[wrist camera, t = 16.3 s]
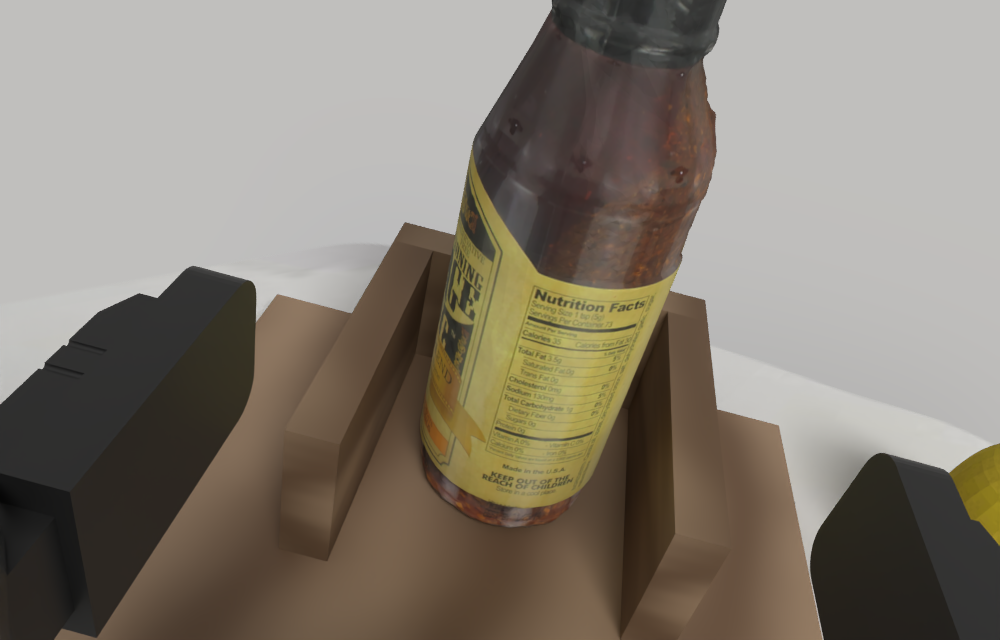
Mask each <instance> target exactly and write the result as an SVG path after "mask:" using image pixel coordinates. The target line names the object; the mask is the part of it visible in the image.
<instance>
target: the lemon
mask: <svg viewBox="0 0 1000 640" xmlns="http://www.w3.org/2000/svg"><path fill="white" fill-rule="evenodd" d="M949 475H950V476H951V477H952V479H953V481H954V483H955V485H956V488H957V490H958V492H959V494H960V497H961V499H962V501H963V503H964V506H965V508H966V510H967V512H968V515H969V517H970V519H972V520H975V521H979V522H980V523H981V524H982V525H983V527H984V528H985V529H986V530H987V531H988V533H989V534H990V535H991V536H992V537H993V538H994V540H995V541H996V542H997V543H998V544H999V546H1000V444H997V445H993V446H990V447H988V448H985V449H983V450H981V451H979V452H977V453H975V454H974V455H972V456H971V457H969V458H968V459H966V460H965V461H963V462H962V463H961V464H960V465H958V466H957V467H956V468H955V469H953V470H952V471H951V472H950V473H949Z"/></svg>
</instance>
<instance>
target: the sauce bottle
mask: <svg viewBox="0 0 1000 640" xmlns="http://www.w3.org/2000/svg"><path fill="white" fill-rule="evenodd" d="M725 3H726V0H552V10H551V11H550V13H549V15H548V17H547V19H546V20H545V22H544V24H543V26H542V28H541V29H540V31H539V33H538V35H537V36H536V38H535V40H534V42H533V44H532V45H531V47H530V48H529V50H528V52H527V53H526V55H525V57H524V58H523V60H522V61H521V63H520V65H519V66H518V68H517V70H516V71H515V73H514V74H513V76H512V78H511V79H510V81H509V82H508V84H507V86H506V87H505V89H504V90H503V92H502V94H501V95H500V97H499V98H498V100H497V102H496V103H495V105H494V107H493V108H492V110H491V111H490V113H489V115H488V116H487V118H486V119H485V121H484V123H483V124H482V126H481V127H480V129H479V131H478V132H477V134H476V136H475V138H474V141H473V145H472V150H471V155H470V160H469V166H468V171H467V176H466V182H465V187H464V192H463V198H462V203H461V208H460V214H459V219H458V224H457V230H456V234H455V239H454V244H453V249H452V253H451V259H450V264H449V269H448V275H447V281H446V286H445V292H444V297H443V301H442V306H441V312H440V318H439V324H438V329H437V335H436V340H435V345H434V351H433V356H432V361H431V366H430V371H429V376H428V382H427V387H426V392H425V397H424V403H423V409H422V413H421V417H420V433H421V439H422V448H421V453H422V459H423V466H424V468H425V471H426V475H427V479H428V480H429V481H430V484H431V486H432V488H433V489H434V490H435V491H436V492H437V493H438V495H439V496H440V498H442V499H444V500H445V501H447V502H449V503H451V504H452V505H454V506H455V507H456V509H458V510H459V511H461V512H463V513H465V514H466V515H467V516H468V517H470V518H472V519H475V520H478V521H481V522H484V523H487V524H491V525H494V526H502V527H507V528H513V527H525V528H527V527H528V528H530V527H532V526H537V525H544V524H547V523H550V522H553V521H554V520H556V519H557V518H558V517H559V516H560V515H561V514H562V513H564V512H565V511H567V510H568V509H569V508H570V506H571V505H572V504H573V502H574V501H575V500H576V499H577V497H578V496H579V494H580V492H581V491H582V488H583V487H584V485H585V484H586V483H587V482H588V481H589V480H590V478H591V476H592V475H593V473H594V470H595V468H596V466H597V464H598V462H599V459H600V457H601V454H602V452H603V449H604V447H605V444H606V442H607V439H608V437H609V434H610V432H611V430H612V427H613V425H614V423H615V420H616V418H617V416H618V413H619V411H620V408H621V406H622V404H623V401H624V399H625V396H626V394H627V392H628V389H629V387H630V384H631V382H632V380H633V377H634V375H635V372H636V370H637V368H638V365H639V363H640V360H641V358H642V356H643V353H644V351H645V348H646V346H647V344H648V341H649V339H650V336H651V334H652V332H653V329H654V327H655V325H656V322H657V320H658V317H659V315H660V312H661V310H662V308H663V305H664V303H665V300H666V298H667V296H668V293H669V291H670V288H671V286H672V283H673V281H674V279H675V276H676V274H677V271H678V269H679V266H680V264H681V261H682V254H681V252H682V250H683V247H684V244H685V241H686V239H687V235H688V232H689V229H690V228H691V226H692V223H693V221H694V218H695V216H696V213H697V211H698V209H699V206H700V203H701V201H702V200H703V199H704V197H705V195H706V193H707V189H708V186H709V183H710V180H711V177H712V170H713V167H714V160H715V157H716V152H717V151H716V135H715V118H716V114H715V112H714V111H713V110H712V109H711V108H710V105H709V103H708V101H707V97H708V94H707V86H706V76H705V71H704V67H703V58H704V56H705V55H707V54H708V53H709V52H710V51H711V50H712V49H713V47H714V45H715V44H716V41H717V38H718V34H719V25H718V21H719V19H720V16H721V14H722V11H723V9H724V6H725Z"/></svg>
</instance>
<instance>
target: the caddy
mask: <svg viewBox="0 0 1000 640" xmlns="http://www.w3.org/2000/svg"><path fill="white" fill-rule="evenodd" d="M454 239H455V235H452V234H448V233H444V232H440V231H436V230H433V229H429V228H425V227H421V226H417V225H413V224H409V223H404V225H403V226H402V228H401V230H400V232H399V233H398V235H397V237H396V238H395V240H394V242H393V244H392V245H391V247H390V249H389V251H388V252H387V254H386V256H385V257H384V259H383V261H382V263H381V264H380V266H379V268H378V269H377V271H376V273H375V275H374V276H373V278H372V280H371V282H370V283H369V285H368V287H367V288H366V290H365V292H364V294H363V295H362V297H361V299H360V300H359V302H358V304H357V306H356V307H355V309H354V311H353V313H352V314H351V313H347V312H343V311H339V310H336V309H332V308H328V307H324V306H320V305H317V304H313V303H309V302H305V301H301V300H297V299H294V298H290V297H286V296H282V295H278V294H277V296H276V297H275V298H274V300H273V301H272V302H271V304H270V305H269V306H268V308H267V309H266V310H265V312H264V313H263V314H262V316H261V317H260V318H259V320H258V321H257V322H256V327H255V366H254V379H253V385H252V389H251V393H250V396H249V399H248V402H247V405H246V407H245V409H244V412H243V414H242V415H241V417H240V419H239V421H238V422H237V424H236V425H235V427H234V428H233V430H232V432H231V433H230V435H229V436H228V438H227V439H226V441H225V442H224V444H223V445H222V447H221V448H220V450H219V451H218V453H217V455H216V456H215V458H214V459H213V461H212V462H211V464H210V465H209V467H208V468H207V470H206V471H205V473H204V474H203V476H202V478H201V479H200V481H199V482H198V484H197V485H196V487H195V488H194V490H193V491H192V493H191V494H190V496H189V497H188V499H187V501H186V502H185V504H184V505H183V507H182V508H181V510H180V511H179V513H178V514H177V516H176V517H175V519H174V520H173V522H172V524H171V525H170V527H169V528H168V530H167V531H166V533H165V534H164V536H163V537H162V539H161V540H160V542H159V543H158V545H157V547H156V548H155V550H154V551H153V553H152V554H151V556H150V557H149V559H148V560H147V562H146V563H145V565H144V566H143V568H142V570H141V571H140V573H139V574H138V576H137V577H136V579H135V580H134V582H133V583H132V585H131V586H130V588H129V589H128V591H127V592H126V594H125V596H124V597H123V599H122V600H121V602H120V603H119V605H118V606H117V608H116V609H115V611H114V612H113V614H112V615H111V617H110V619H109V620H108V622H107V623H106V625H105V626H104V628H103V629H102V631H101V632H100V634H99V635H98V637H97V638H94V637H91V636H87V635H84V634H80V633H76V632H73V631H69V630H65V629H61V630H60V632H59V633H58V635H57V636H56V637H55V639H54V640H822V636H821V631H820V626H819V621H818V616H817V611H816V606H815V601H814V597H813V592H812V587H811V582H810V577H809V572H808V567H807V562H806V557H805V552H804V547H803V543H802V538H801V533H800V528H799V523H798V518H797V513H796V508H795V503H794V498H793V493H792V489H791V484H790V479H789V474H788V469H787V464H786V459H785V454H784V449H783V444H782V439H781V435H780V430H779V426H778V425H774V424H771V423H767V422H763V421H759V420H755V419H751V418H748V417H744V416H740V415H736V414H732V413H729V412H725V411H721V410H717V406H716V397H715V388H714V378H713V369H712V360H711V350H710V341H709V333H708V323H707V314H706V304H705V300H702V299H698V298H695V297H691V296H686V295H683V294H679V293H675V292H672V291H669V293H668V296H667V298H666V300H665V303H664V305H663V308H662V310H661V312H660V315H659V317H658V320H657V322H656V325H655V327H654V329H653V332H652V334H651V336H650V339H649V341H648V344H647V346H646V348H645V351H644V353H643V356H642V358H641V360H640V363H639V365H638V368H637V370H636V372H635V375H634V377H633V380H632V382H631V384H630V387H629V389H628V392H627V394H626V396H625V399H624V401H623V404H622V406H621V408H620V411H619V413H618V416H617V418H616V420H615V423H614V425H613V427H612V430H611V432H610V434H609V437H608V439H607V442H606V444H605V447H604V449H603V452H602V454H601V457H600V459H599V462H598V464H597V466H596V468H595V470H594V473H593V475H592V476H591V478H590V480H589V481H588V482H587V483H586V484H585V485H584V487H583V488H582V491H581V492H580V494H579V496H578V497H577V499H576V500H575V501H574V502H573V504H572V505H571V506H570V508H569V509H568V510H567V511H565V512H564V513H562V514H561V515H560V516H559V517H558V518H557V519H556V520H554V521H553V522H550V523H547V524H544V525H537V526H532V527H530V528H528V527H527V528H525V527H513V528H507V527H502V526H494V525H491V524H487V523H484V522H481V521H478V520H475V519H472V518H470V517H468V516H467V515H466V514H465V513H463V512H461V511H459V510H458V509H456V507H455V506H454V505H452V504H451V503H449V502H447V501H445V500H444V499H442V498H440V496H439V495H438V493H437V492H436V491H435V490H434V489H433V488H432V486H431V484H430V481H429V480H428V479H427V475H426V471H425V468H424V466H423V459H422V453H421V448H422V439H421V433H420V417H421V413H422V409H423V403H424V397H425V392H426V387H427V382H428V376H429V371H430V366H431V361H432V356H433V351H434V345H435V340H436V335H437V329H438V324H439V318H440V312H441V306H442V301H443V297H444V292H445V286H446V281H447V275H448V269H449V264H450V259H451V253H452V249H453V244H454Z"/></svg>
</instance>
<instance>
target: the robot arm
mask: <svg viewBox="0 0 1000 640" xmlns="http://www.w3.org/2000/svg"><path fill="white" fill-rule="evenodd" d="M255 327H256V289H255V286H254V284H253V282H251V281H249V280H245V279H241V278H237V277H234V276H230V275H226V274H222V273H219V272H215V271H211V270H208V269H204V268H200V267H196V266H191V267H189V268H187V269H186V270H185V271H183V272H182V273H181V274H180V275H179V277H178V278H177V279H176V280H175V281H174V282H173V283H172V284H171V285H170V286H169V287H168V288H167V289H166V290H165V291H164V292H163V293H162V294H161V295H160V296H159V297H158V298H155V297H151V296H147V295H144V294H140V293H139V294H137V295H134V296H132V297H130V298H128V299H126V300H124V301H121V302H119V303H117V304H115V305H113V306H111V307H108V308H106V309H104V310H102V311H100V312H98V313H97V314H96V315H95V316H94V317H93V318H92V319H90V320H89V321H88V322H87V323H86V324H85V325H84V326H83V327H82V328H81V329H80V330H79V331H78V332H77V333H76V334H75V335H74V336H72V337H71V338H70V339H69V343H68V345H67V346H65V345H63V346H62V347H61V348H60V349H59V350H58V351H57V352H56V353H55V354H53V355H52V356H51V357H50V358H49V359H48V360H47V361H46V362H45V366H44V368H43V369H38V370H37V371H35V372H34V373H33V374H32V375H31V376H30V377H29V378H28V379H27V380H26V381H25V382H24V383H23V384H22V385H21V386H20V387H19V388H17V389H16V390H15V391H14V392H13V393H12V394H11V395H10V396H9V397H8V398H7V399H6V400H5V401H4V402H3V403H2V404H1V405H0V640H54V639H55V637H56V636H57V635H58V633H59V632H60V630H61V629H65V630H69V631H73V632H76V633H80V634H84V635H87V636H91V637H94V638H97V637H98V635H99V634H100V632H101V631H102V629H103V628H104V626H105V625H106V623H107V622H108V620H109V619H110V617H111V615H112V614H113V612H114V611H115V609H116V608H117V606H118V605H119V603H120V602H121V600H122V599H123V597H124V596H125V594H126V592H127V591H128V589H129V588H130V586H131V585H132V583H133V582H134V580H135V579H136V577H137V576H138V574H139V573H140V571H141V570H142V568H143V566H144V565H145V563H146V562H147V560H148V559H149V557H150V556H151V554H152V553H153V551H154V550H155V548H156V547H157V545H158V543H159V542H160V540H161V539H162V537H163V536H164V534H165V533H166V531H167V530H168V528H169V527H170V525H171V524H172V522H173V520H174V519H175V517H176V516H177V514H178V513H179V511H180V510H181V508H182V507H183V505H184V504H185V502H186V501H187V499H188V497H189V496H190V494H191V493H192V491H193V490H194V488H195V487H196V485H197V484H198V482H199V481H200V479H201V478H202V476H203V474H204V473H205V471H206V470H207V468H208V467H209V465H210V464H211V462H212V461H213V459H214V458H215V456H216V455H217V453H218V451H219V450H220V448H221V447H222V445H223V444H224V442H225V441H226V439H227V438H228V436H229V435H230V433H231V432H232V430H233V428H234V427H235V425H236V424H237V422H238V421H239V419H240V417H241V415H242V414H243V412H244V409H245V407H246V405H247V402H248V399H249V396H250V393H251V389H252V385H253V379H254V366H255ZM810 572H811V579H812V584H813V589H814V594H815V599H816V603H817V608H818V613H819V618H820V623H821V628H822V632H823V637H824V640H1000V546H999V544H998V543H997V542H996V541H995V540H994V538H993V537H992V536H991V535H990V534H989V533H988V531H987V530H986V529H985V528H984V527H983V525H982V524H981V523H980V522H979V521H975V520H972V519H970V517H969V515H968V512H967V510H966V508H965V506H964V503H963V501H962V499H961V497H960V494H959V492H958V490H957V488H956V485H955V483H954V481H953V479H952V477H951V476H950V475H949V473H948V472H946V471H945V470H944V469H941V468H937V467H934V466H930V465H926V464H922V463H919V462H915V461H911V460H908V459H904V458H900V457H896V456H893V455H889V454H885V453H879V454H876V455H874V456H873V457H871V458H870V459H869V460H868V461H867V463H866V464H865V465H864V467H863V468H862V469H861V471H860V472H859V474H858V475H857V476H856V478H855V479H854V481H853V482H852V483H851V485H850V486H849V488H848V489H847V490H846V492H845V493H844V495H843V496H842V497H841V499H840V500H839V502H838V503H837V504H836V506H835V507H834V509H833V510H832V511H831V513H830V514H829V516H828V517H827V518H826V520H825V521H824V523H823V524H822V525H821V527H820V529H819V530H818V533H817V535H816V537H815V540H814V543H813V547H812V552H811V560H810Z"/></svg>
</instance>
